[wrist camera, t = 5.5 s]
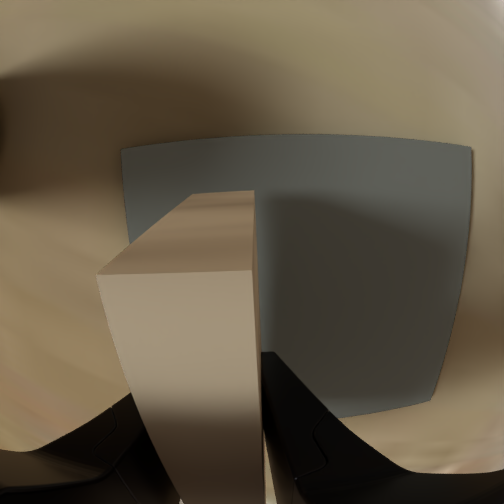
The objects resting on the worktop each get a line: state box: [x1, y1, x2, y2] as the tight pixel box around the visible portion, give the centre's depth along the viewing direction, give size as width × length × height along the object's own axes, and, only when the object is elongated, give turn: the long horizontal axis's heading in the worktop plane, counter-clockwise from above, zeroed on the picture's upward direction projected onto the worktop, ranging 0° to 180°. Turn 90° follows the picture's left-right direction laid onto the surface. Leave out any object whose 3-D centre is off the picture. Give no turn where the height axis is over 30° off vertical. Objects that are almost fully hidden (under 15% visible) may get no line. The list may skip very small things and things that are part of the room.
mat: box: [121, 134, 472, 418], centre depth 12 cm, size 13×14×1 cm
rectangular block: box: [96, 190, 266, 504], centre depth 8 cm, size 9×2×6 cm, turn 3°
